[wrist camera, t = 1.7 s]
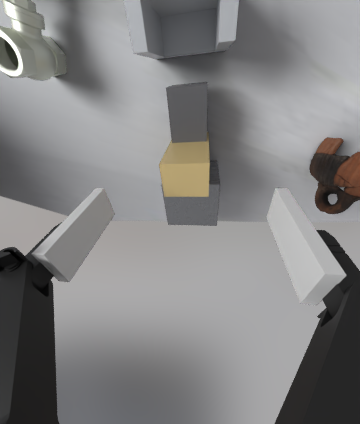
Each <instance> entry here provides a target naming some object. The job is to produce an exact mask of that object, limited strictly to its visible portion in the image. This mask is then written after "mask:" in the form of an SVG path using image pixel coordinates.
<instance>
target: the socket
mask: <svg viewBox="0 0 360 424" xmlns="http://www.w3.org/2000/svg"><path fill="white" fill-rule="evenodd" d="M123 1H124V6H125V12H126V17H127V22H128V28H129V33H130V38H131V44H132V49H133V54H137V55H141V56H145V57H149V58H153V59H162V58H171V57H179V56H187V55H195V54H204V53H212V52H220V51H226V50H227V49H228V48H229V47H230V46H231V45H232V44H233V42H234V41H235V39H236V27H237V16H238V5H239V0H123Z"/></svg>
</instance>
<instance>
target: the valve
mask: <svg viewBox="0 0 360 424" xmlns="http://www.w3.org/2000/svg"><path fill="white" fill-rule="evenodd" d="M2 2H3V7H4V11H5V14H6V15H7V16H9V17H10V19H11V24H12V28H6V27H2V26H0V70H2V71H3V72H4V73H5V74H6V75H8V76H9V77H10V78H24V77H28V78H31V79H34V80H39V81H43V80H48V79H50V78H51V77H55V76H59V75H63V74H66V57H65V54H64V52H63V51H62V50H61V49H60V48H59V47H58V46H57V45H56V43H55V42H54V41H53V40H52V39H51V38H50V37H46V36H42V31H41V29H43V30H45V24H44V16H43V15H41V14H39V13H37V12H36V4H35V3H34V2H32V1H31V0H2Z"/></svg>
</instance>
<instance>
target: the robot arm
mask: <svg viewBox="0 0 360 424" xmlns="http://www.w3.org/2000/svg"><path fill="white" fill-rule="evenodd" d="M114 215H115V213H114V211H113V208H112V206H111V204H110V201H109V199H108V196H107V194H106V192H105V189H104V188H95V189H94V190H93V191H92V193H91V194H90V195H89V196H88V197H87V198H86V199H85V200H84V201H83V202H82V203H81V204H80V205H79V206H78V207H77V208H76V209H75V210H74V211H73V212H72V213H71V214H70V215H69V216H68V217H67V218H66V219H65V220H64V221H63V222H61V223H60V224H58V225H57V226H55V227H54V228H53V229H52V230H51V231H50V232H49V234H47V235H46V236H45V237H44V239H42V240H41V241H40V242H39V243H38V244H37V245H36V246H35V247H34V248H33V249H32V250H31V251H30V252H29V253H28V254H27V255H26V256H24V255H23V254H22V253H21V252H20V251H19V250H18V249H17V248H15V247H9V248H5V249H3V250H1V251H0V424H59V422H58V417H57V393H56V363H55V335H54V334H55V332H54V307H53V306H54V305H53V304H54V303H53V283H52V281H51V279H52V277H53V276H54V277H55V278H56V279H57V280H58V281H64V282H70V281H71V279H72V278H73V276H74V275H75V273H76V272H77V270H78V269H79V267H80V266H81V264H82V263H83V261H84V260H85V258H86V257H87V255H88V254H89V252H90V251H91V249H92V248H93V246H94V245H95V243H96V242H97V240H98V239H99V237H100V236H101V234H102V233H103V231H104V230H105V228H106V226H107V225H108V224H109V222H110V221H111V219H112V218H113V216H114ZM266 218H267V221H268V223H269V225H270V228H271V231H272V233H273V236H274V238H275V241H276V243H277V246H278V249H279V251H280V254H281V256H282V258H283V261H284V264H285V266H286V268H287V271H288V274H289V276H290V279H291V281H292V284H293V286H294V289H295V291H296V294H297V297H298V299H299V301H300V304H308V305H318V304H319V303H320V302H321V301H322V300H323V301H324V303H325V305H326V307H327V308H326V309H325V310H324V311H322V312H321V313H320V314H319V315H318V316H317V317H318V318H320V321H319V323H318V325H317V328H316V330H315V332H314V334H313V337H312V339H311V342H310V344H309V346H308V348H307V351H306V353H305V356H304V357H303V360H302V362H301V364H300V367H299V369H298V371H297V374H296V376H295V378H294V380H293V383H292V385H291V387H290V390H289V392H288V394H287V396H286V399H285V401H284V404H283V406H282V408H281V410H280V413H279V415H278V417H277V419H276V422H275V424H360V271H359V269H358V268H357V267H356V265H355V264H354V263H353V262H352V260H351V259H350V258H349V256H348V255H347V254H345V251H344V250H343V248H342V247H340V244H339V243H338V242H337V240H336V239H335V238H334V237H333V236H332V235H330V234H329V233H327V232H326V231H325V230H316V229H315V228H314V227H313V225H312V223H311V222H310V221H309V219H308V218H307V216H306V215H305V213H304V212H303V210H302V209H301V207H300V206H299V204H298V203H297V201H296V200H295V198H294V197H293V195H292V194H291V193H290V191H289V190H288V188H276V189H275V192H274V195H273V198H272V201H271V204H270V208H269V211H268V214H267V217H266Z"/></svg>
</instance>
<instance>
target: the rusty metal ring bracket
mask: <svg viewBox="0 0 360 424" xmlns="http://www.w3.org/2000/svg"><path fill="white" fill-rule="evenodd" d="M342 143H343V139H341V138H326V139H325V140H324V141H323V142H322V143H321V144H320V146H319V147H318V149H317V151H316V153H315V154H314V156H313V159H312V160H311V164H310V173H311V175H312V176H314V177H315V179H316V180H317V181H318V182H319V183H318V189H317V191H316V195H315V203H316V206H317V208H318V209H319V210H320V211H322V212H326V213H328V214H338V213H341V212H343V211H345V210H346V209H348V208H349V207H350V206H351V205H352V204H353V203H354V202H355V201H358V200H360V152H357V153H355V154H353V155H352V156H351V157H349V156H337V155H335V153H336V151H337V149H338V148H339V147H340V145H341V144H342ZM339 187H345V188H344V191H343V190H342V189H340V188H339ZM329 194H337V198H338V200H337V202H336V203H335V204H334V205H331V204H330V203H329V202H328V195H329Z"/></svg>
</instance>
